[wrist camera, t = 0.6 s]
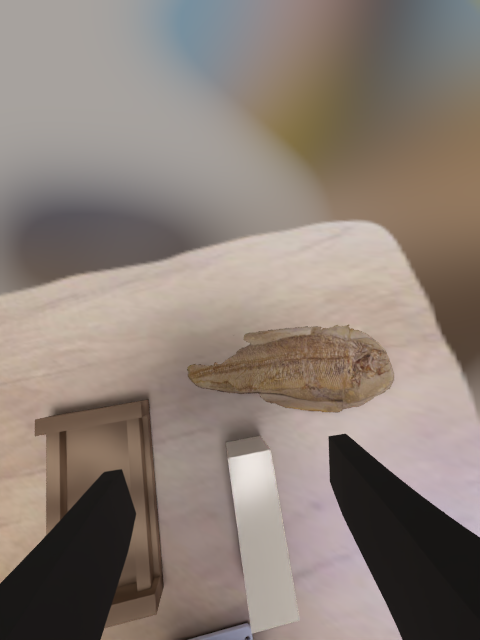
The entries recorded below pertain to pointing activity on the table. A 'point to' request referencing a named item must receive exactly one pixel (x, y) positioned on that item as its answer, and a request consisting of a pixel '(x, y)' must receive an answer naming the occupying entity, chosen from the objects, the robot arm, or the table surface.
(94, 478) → the rack
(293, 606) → the clay bar
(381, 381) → the fish fossil
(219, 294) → the table surface
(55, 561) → the robot arm
